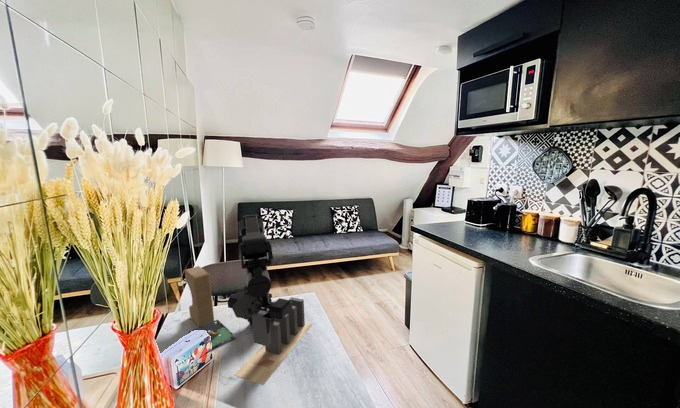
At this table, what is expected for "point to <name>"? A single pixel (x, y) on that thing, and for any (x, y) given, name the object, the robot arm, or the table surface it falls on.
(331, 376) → the table surface
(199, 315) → the decorative block
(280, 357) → the board
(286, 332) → the domino
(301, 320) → the domino
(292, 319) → the domino
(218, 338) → the disk drive
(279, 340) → the domino
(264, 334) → the domino
